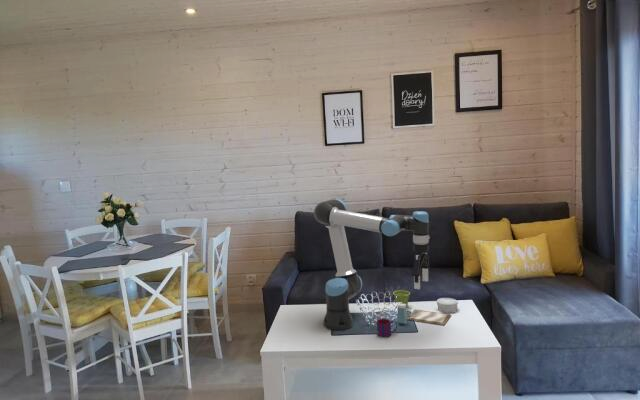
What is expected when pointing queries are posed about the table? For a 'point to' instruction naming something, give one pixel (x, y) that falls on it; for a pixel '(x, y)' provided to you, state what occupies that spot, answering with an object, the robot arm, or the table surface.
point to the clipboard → (429, 317)
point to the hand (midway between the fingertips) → (421, 284)
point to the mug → (384, 327)
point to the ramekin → (447, 305)
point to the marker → (402, 314)
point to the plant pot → (402, 297)
